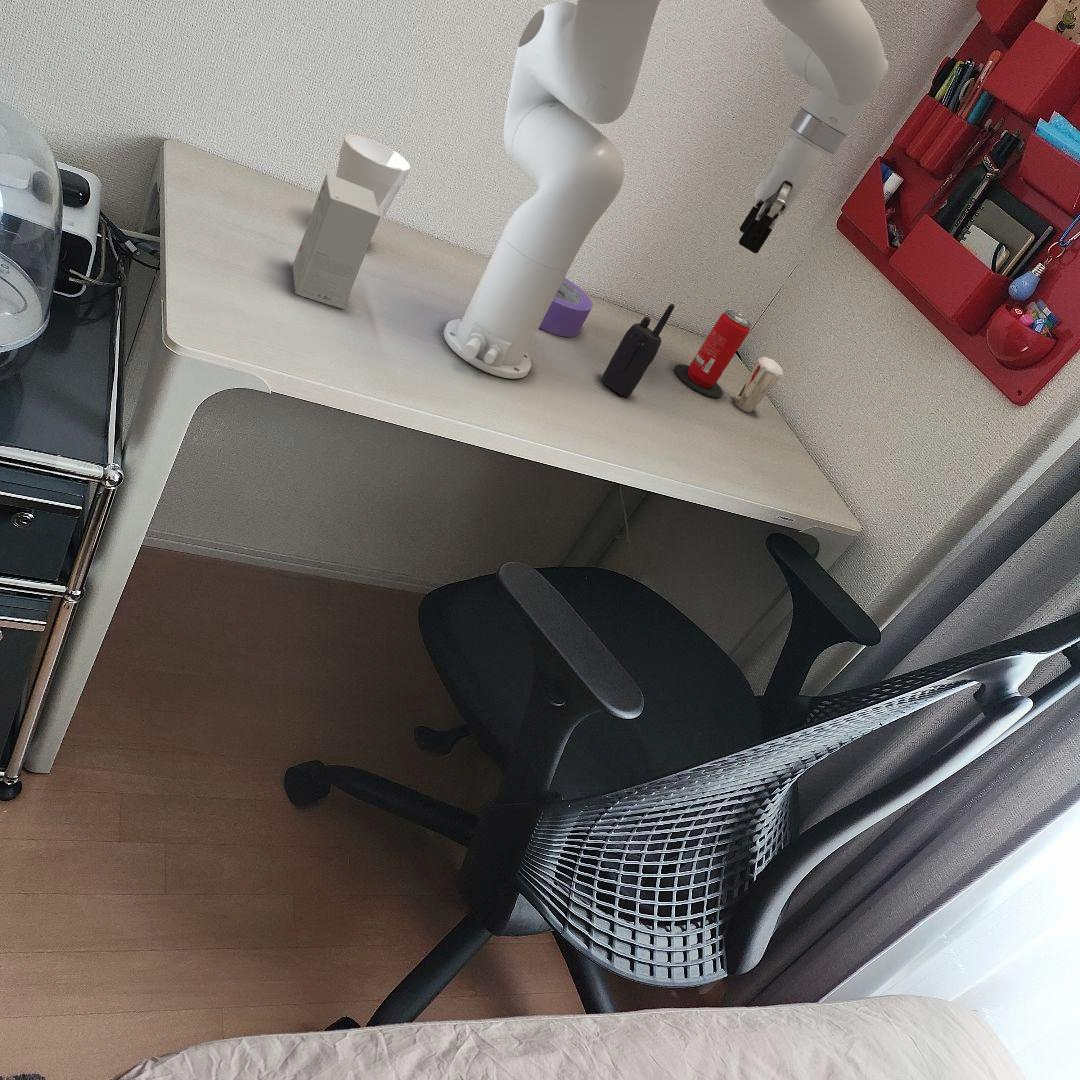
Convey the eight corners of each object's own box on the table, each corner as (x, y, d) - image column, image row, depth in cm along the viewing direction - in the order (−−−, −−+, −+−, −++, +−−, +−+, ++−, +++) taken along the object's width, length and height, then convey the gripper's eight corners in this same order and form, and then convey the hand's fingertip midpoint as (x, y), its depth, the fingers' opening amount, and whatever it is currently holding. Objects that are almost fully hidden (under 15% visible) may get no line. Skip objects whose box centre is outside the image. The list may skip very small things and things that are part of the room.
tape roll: (567, 345, 151) (583, 316, 149) (501, 305, 151) (515, 276, 149) (585, 325, 161) (600, 298, 159) (523, 288, 161) (536, 260, 159)
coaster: (720, 405, 162) (721, 403, 161) (671, 378, 161) (673, 376, 161) (722, 385, 169) (723, 384, 169) (676, 359, 169) (677, 357, 168)
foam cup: (388, 252, 147) (422, 170, 140) (350, 257, 139) (384, 170, 132) (340, 218, 149) (371, 135, 142) (300, 221, 141) (331, 133, 134)
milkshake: (759, 421, 164) (794, 371, 159) (731, 406, 164) (765, 355, 158) (758, 410, 168) (792, 361, 163) (730, 395, 167) (764, 345, 162)
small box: (343, 310, 125) (381, 216, 119) (294, 294, 123) (329, 197, 116) (339, 281, 131) (374, 190, 125) (291, 265, 129) (325, 171, 122)
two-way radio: (634, 398, 147) (686, 310, 139) (618, 401, 144) (672, 311, 136) (606, 376, 149) (657, 288, 141) (591, 378, 145) (642, 289, 138)
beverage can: (682, 367, 166) (720, 304, 160) (708, 378, 168) (747, 316, 162) (689, 382, 162) (729, 318, 156) (715, 393, 164) (756, 331, 158)
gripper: (791, 114, 148) (727, 218, 157) (795, 126, 133) (724, 240, 142) (834, 140, 149) (768, 242, 157) (843, 155, 134) (769, 267, 142)
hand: (747, 241), depth 149 cm, fingers open, 9 cm apart
